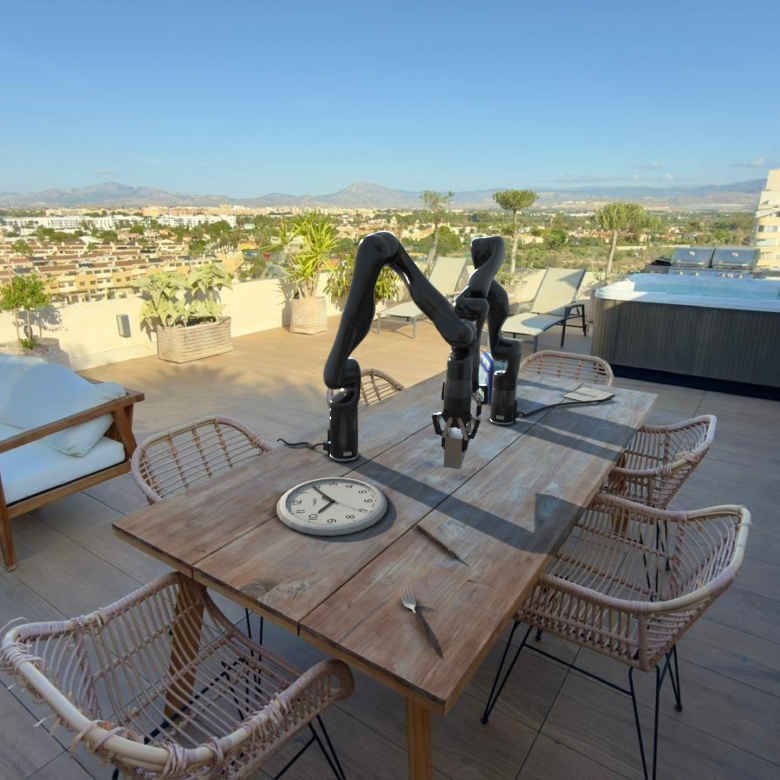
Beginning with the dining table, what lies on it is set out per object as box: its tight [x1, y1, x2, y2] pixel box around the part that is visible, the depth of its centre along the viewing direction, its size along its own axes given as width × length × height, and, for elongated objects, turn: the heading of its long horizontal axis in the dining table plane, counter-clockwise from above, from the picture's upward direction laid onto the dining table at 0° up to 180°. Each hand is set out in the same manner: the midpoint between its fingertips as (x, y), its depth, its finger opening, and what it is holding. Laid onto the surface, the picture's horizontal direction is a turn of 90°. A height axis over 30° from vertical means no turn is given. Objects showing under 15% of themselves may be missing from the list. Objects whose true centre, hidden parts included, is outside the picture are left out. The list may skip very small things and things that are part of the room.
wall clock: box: [276, 476, 388, 537], centre depth 142 cm, size 30×2×30 cm
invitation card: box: [562, 386, 615, 405], centre depth 241 cm, size 21×1×15 cm
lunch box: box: [478, 351, 507, 406], centre depth 230 cm, size 26×11×21 cm, turn 179°
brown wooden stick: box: [415, 524, 457, 559], centre depth 127 cm, size 15×1×1 cm, turn 34°
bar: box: [443, 412, 473, 470], centre depth 156 cm, size 23×5×9 cm, turn 164°
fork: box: [399, 584, 432, 649], centre depth 101 cm, size 3×16×2 cm, turn 16°
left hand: (454, 449), depth 148 cm, fingers closed on bar, 4 cm apart
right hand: (463, 414), depth 162 cm, fingers open, 8 cm apart
